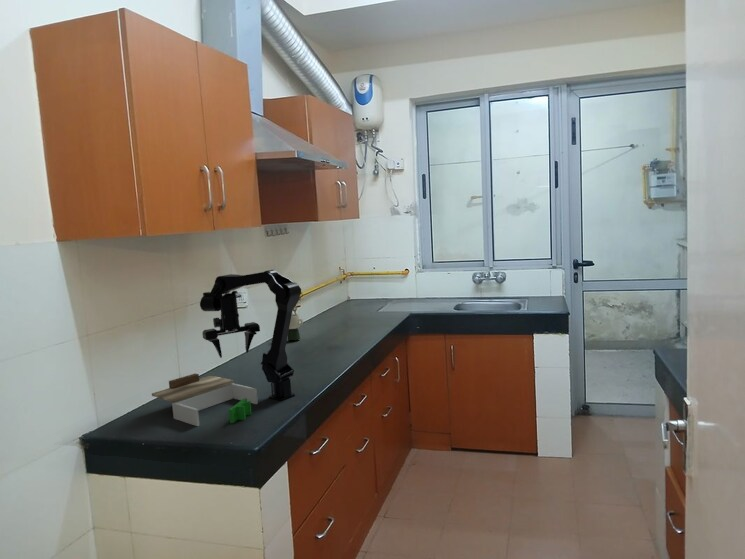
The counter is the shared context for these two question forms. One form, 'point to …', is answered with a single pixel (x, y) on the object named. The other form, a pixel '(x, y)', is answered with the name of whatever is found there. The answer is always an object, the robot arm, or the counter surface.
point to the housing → (210, 401)
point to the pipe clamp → (240, 410)
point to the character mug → (294, 327)
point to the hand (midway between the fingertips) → (234, 355)
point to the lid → (190, 387)
